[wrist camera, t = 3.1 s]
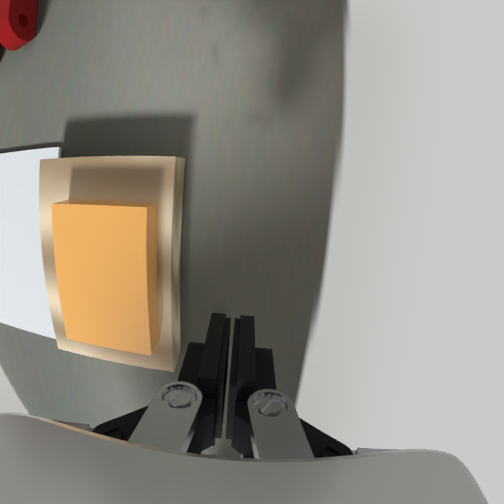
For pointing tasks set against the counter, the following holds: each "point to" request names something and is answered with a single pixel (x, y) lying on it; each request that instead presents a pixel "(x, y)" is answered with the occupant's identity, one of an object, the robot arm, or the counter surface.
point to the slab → (108, 272)
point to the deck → (168, 237)
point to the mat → (23, 243)
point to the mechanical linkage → (17, 22)
